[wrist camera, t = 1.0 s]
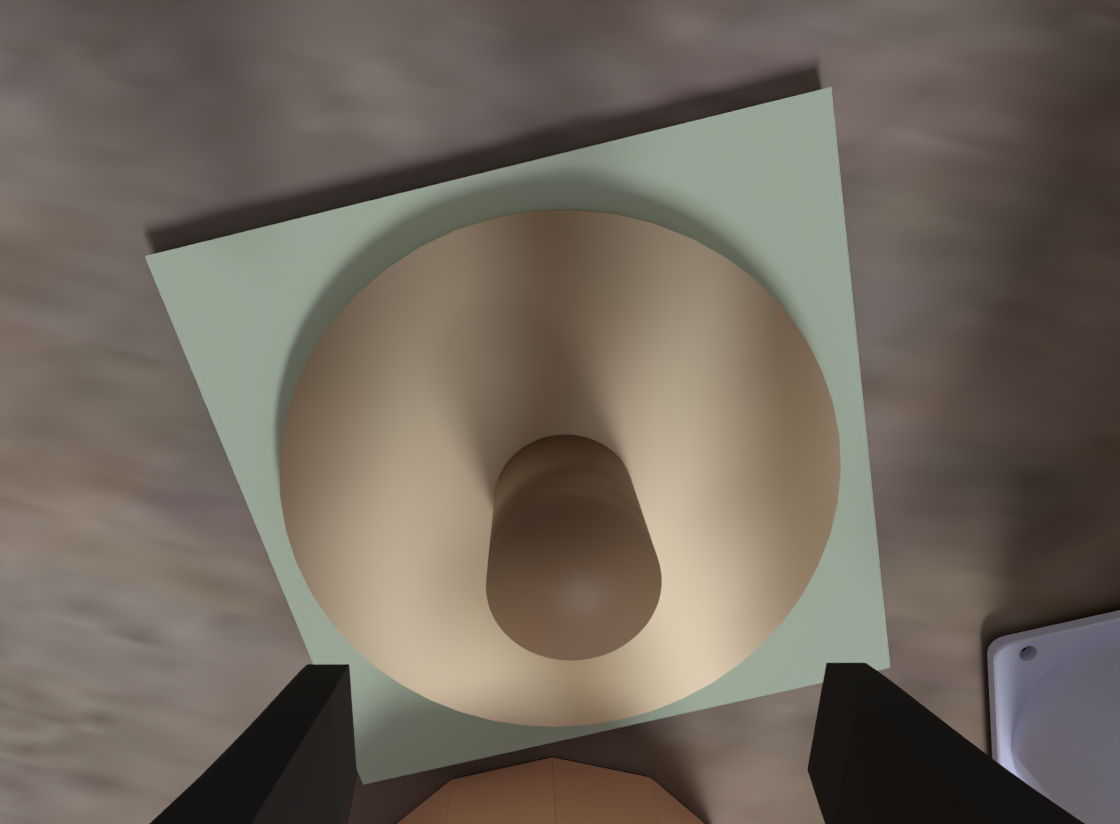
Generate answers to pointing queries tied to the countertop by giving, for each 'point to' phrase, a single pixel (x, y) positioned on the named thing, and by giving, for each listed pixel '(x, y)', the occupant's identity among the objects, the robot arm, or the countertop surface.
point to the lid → (559, 468)
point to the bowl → (551, 798)
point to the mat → (544, 184)
